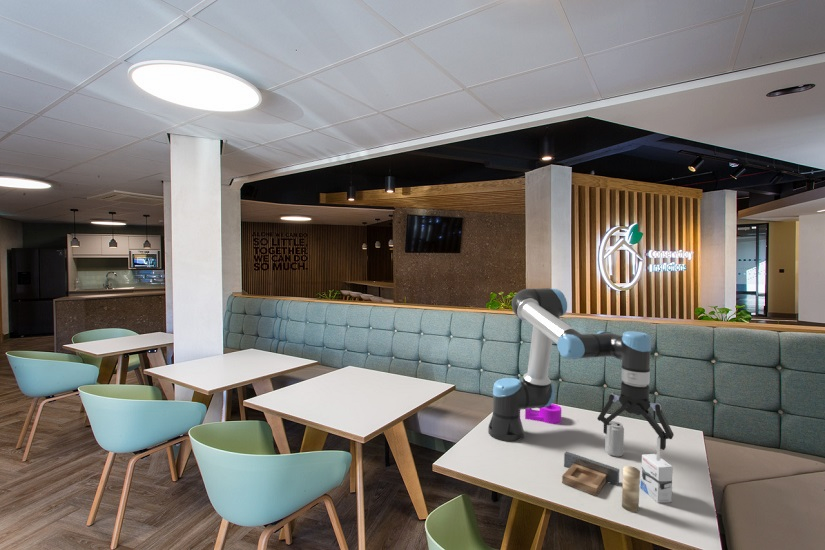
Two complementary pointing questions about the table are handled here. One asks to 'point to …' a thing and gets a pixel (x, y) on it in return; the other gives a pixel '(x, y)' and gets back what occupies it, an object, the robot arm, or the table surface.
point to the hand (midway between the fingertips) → (632, 451)
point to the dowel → (630, 488)
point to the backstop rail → (593, 466)
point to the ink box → (656, 478)
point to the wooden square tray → (584, 479)
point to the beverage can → (615, 440)
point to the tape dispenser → (545, 414)
